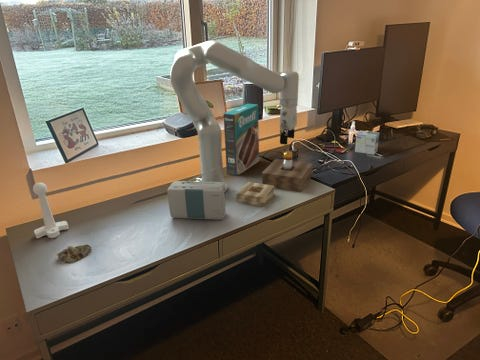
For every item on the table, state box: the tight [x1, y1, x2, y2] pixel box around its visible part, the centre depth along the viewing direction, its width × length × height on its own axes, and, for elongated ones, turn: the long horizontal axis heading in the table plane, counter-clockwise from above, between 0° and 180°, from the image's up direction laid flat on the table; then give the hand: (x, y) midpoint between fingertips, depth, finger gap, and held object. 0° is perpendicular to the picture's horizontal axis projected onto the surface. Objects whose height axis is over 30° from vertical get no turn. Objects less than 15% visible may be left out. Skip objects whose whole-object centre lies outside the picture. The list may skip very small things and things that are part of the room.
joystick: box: [32, 181, 70, 239], centre depth 133 cm, size 11×8×20 cm
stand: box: [236, 181, 275, 207], centre depth 157 cm, size 12×12×4 cm
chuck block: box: [261, 158, 313, 193], centre depth 171 cm, size 18×18×6 cm
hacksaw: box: [312, 157, 347, 174], centre depth 188 cm, size 24×10×2 cm, turn 122°
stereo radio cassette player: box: [167, 167, 226, 221], centre depth 142 cm, size 21×8×20 cm, turn 82°
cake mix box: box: [222, 103, 260, 177], centre depth 184 cm, size 22×6×30 cm, turn 148°
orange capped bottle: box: [282, 150, 293, 171], centre depth 169 cm, size 4×4×11 cm
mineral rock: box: [56, 244, 93, 264], centre depth 124 cm, size 11×4×8 cm
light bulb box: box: [354, 130, 380, 155], centre depth 202 cm, size 11×7×11 cm, turn 58°
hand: (287, 140), depth 164 cm, fingers open, 9 cm apart
